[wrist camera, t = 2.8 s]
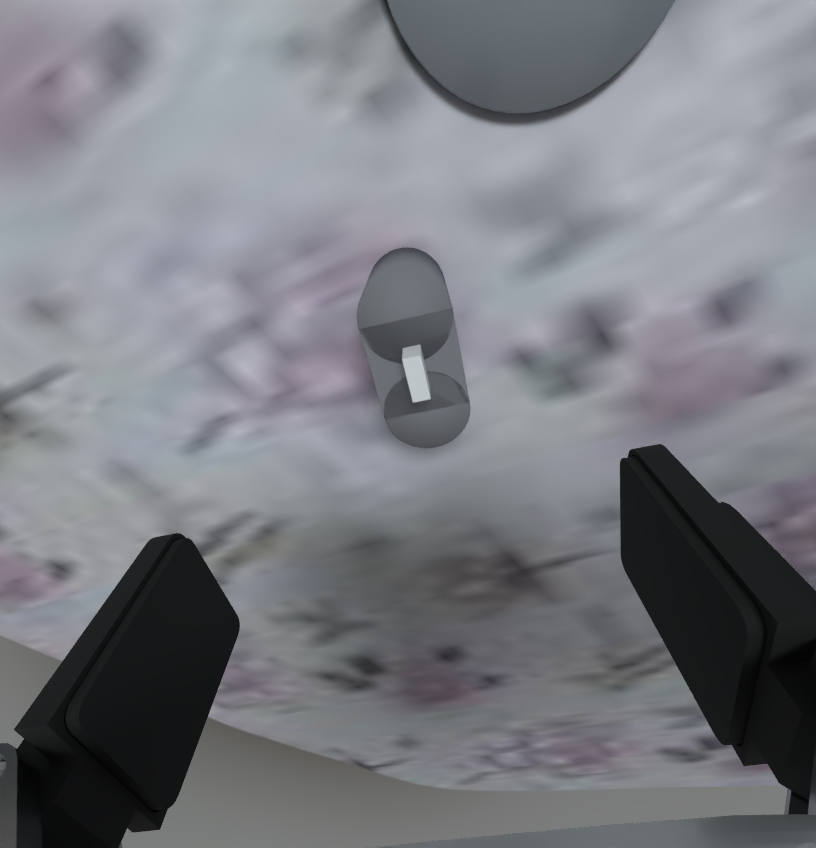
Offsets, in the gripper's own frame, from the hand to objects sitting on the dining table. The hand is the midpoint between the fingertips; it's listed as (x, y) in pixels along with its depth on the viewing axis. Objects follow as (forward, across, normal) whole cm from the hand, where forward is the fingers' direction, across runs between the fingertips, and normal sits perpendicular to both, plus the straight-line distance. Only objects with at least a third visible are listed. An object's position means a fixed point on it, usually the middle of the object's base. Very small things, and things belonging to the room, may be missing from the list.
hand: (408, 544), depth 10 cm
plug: (+14, 0, 0) cm, 14 cm away
